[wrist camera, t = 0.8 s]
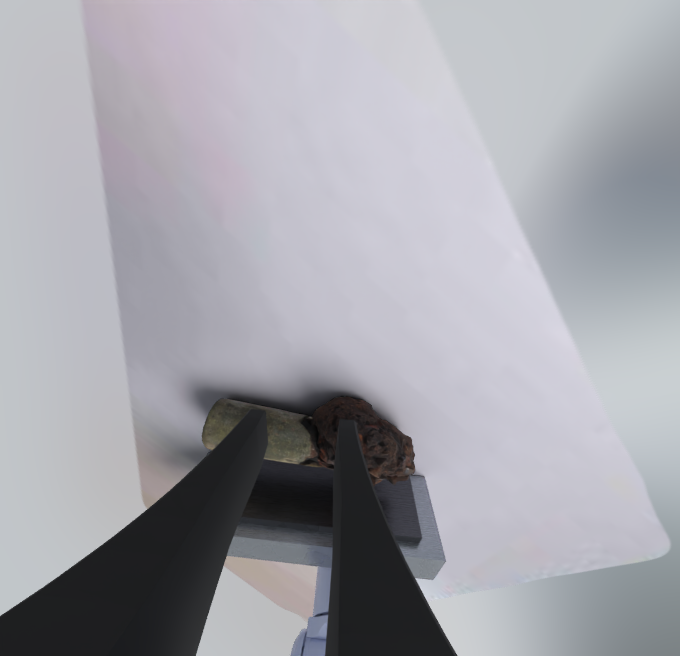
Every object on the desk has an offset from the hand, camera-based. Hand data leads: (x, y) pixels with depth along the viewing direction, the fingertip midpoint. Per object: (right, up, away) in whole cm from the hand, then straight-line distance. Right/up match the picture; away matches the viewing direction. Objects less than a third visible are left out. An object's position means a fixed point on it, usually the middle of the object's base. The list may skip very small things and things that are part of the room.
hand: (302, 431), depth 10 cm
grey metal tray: (-1, -12, +17) cm, 21 cm away
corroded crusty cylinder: (0, -4, +13) cm, 14 cm away
